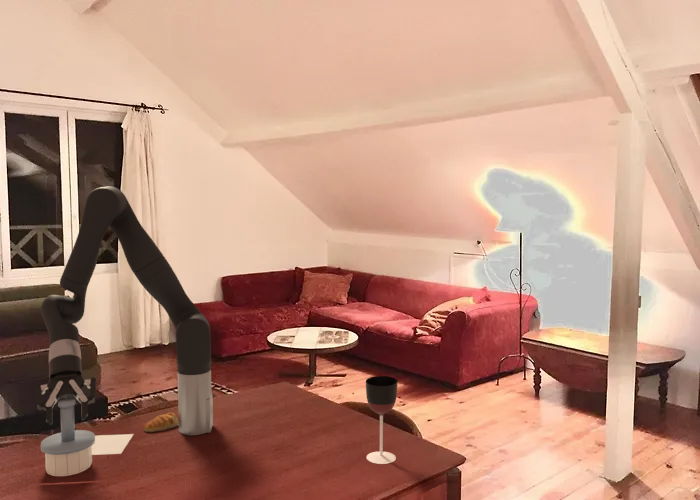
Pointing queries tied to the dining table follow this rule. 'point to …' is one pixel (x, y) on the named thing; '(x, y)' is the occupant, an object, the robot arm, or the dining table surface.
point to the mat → (110, 444)
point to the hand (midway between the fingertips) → (67, 420)
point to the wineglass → (381, 409)
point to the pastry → (161, 423)
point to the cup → (68, 462)
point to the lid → (67, 433)
